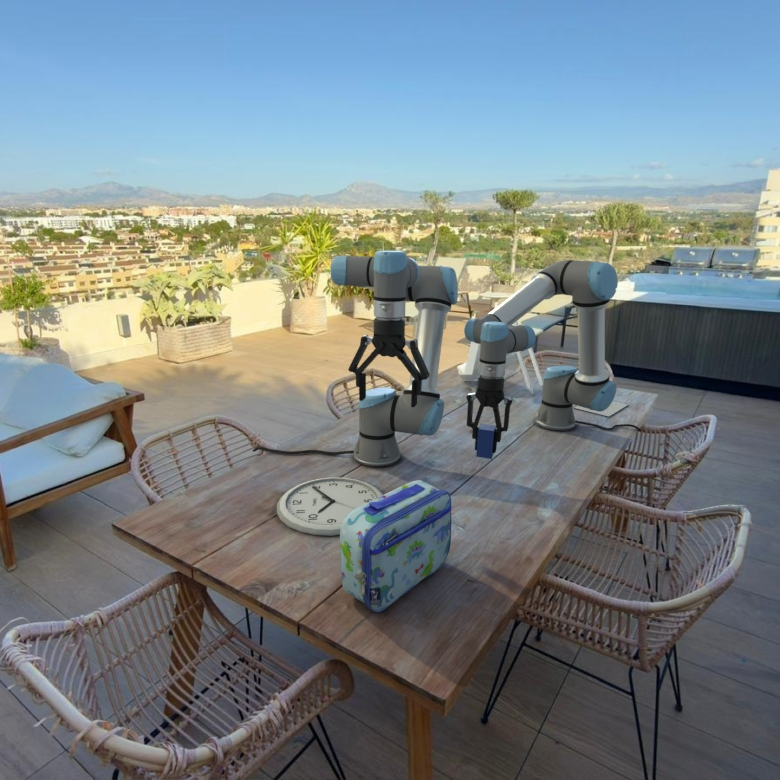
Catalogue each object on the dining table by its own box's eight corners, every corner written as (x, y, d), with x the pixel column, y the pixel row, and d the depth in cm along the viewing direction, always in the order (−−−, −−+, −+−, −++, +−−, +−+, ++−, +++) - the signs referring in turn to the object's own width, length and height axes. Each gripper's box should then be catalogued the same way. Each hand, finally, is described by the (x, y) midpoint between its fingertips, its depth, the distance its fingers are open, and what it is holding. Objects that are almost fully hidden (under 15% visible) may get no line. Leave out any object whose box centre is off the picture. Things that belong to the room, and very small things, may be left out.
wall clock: (392, 527, 129) (268, 531, 127) (391, 533, 130) (269, 537, 127) (383, 473, 158) (282, 475, 155) (383, 478, 158) (282, 480, 156)
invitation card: (608, 416, 214) (573, 407, 224) (608, 416, 214) (573, 408, 224) (628, 404, 229) (594, 396, 238) (628, 405, 229) (594, 397, 238)
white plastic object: (478, 423, 260) (457, 400, 235) (460, 349, 282) (438, 321, 257) (551, 399, 247) (536, 372, 223) (525, 323, 270) (510, 291, 245)
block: (476, 456, 157) (478, 429, 155) (478, 450, 162) (480, 423, 159) (491, 459, 156) (493, 431, 153) (493, 452, 160) (496, 425, 158)
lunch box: (369, 626, 100) (370, 530, 93) (334, 598, 107) (332, 507, 101) (455, 567, 117) (460, 483, 111) (419, 547, 124) (423, 467, 118)
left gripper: (334, 316, 125) (336, 401, 131) (436, 324, 117) (432, 413, 124) (347, 312, 131) (347, 392, 138) (444, 319, 124) (440, 403, 130)
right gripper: (458, 376, 151) (454, 450, 158) (521, 382, 145) (514, 459, 152) (463, 369, 157) (459, 441, 164) (523, 375, 152) (516, 449, 159)
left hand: (387, 402), depth 131 cm, fingers open, 13 cm apart
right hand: (485, 449), depth 158 cm, fingers closed on block, 5 cm apart
